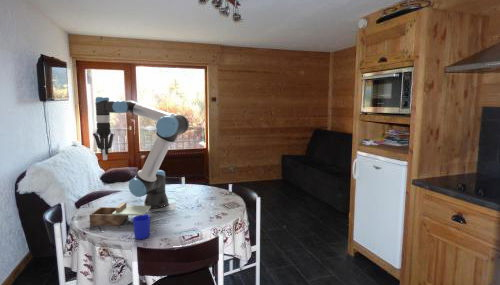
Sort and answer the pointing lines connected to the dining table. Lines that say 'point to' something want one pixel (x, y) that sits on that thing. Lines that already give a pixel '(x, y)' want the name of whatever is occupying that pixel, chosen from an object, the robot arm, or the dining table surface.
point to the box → (106, 217)
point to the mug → (141, 226)
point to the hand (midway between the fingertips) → (105, 159)
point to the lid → (130, 210)
